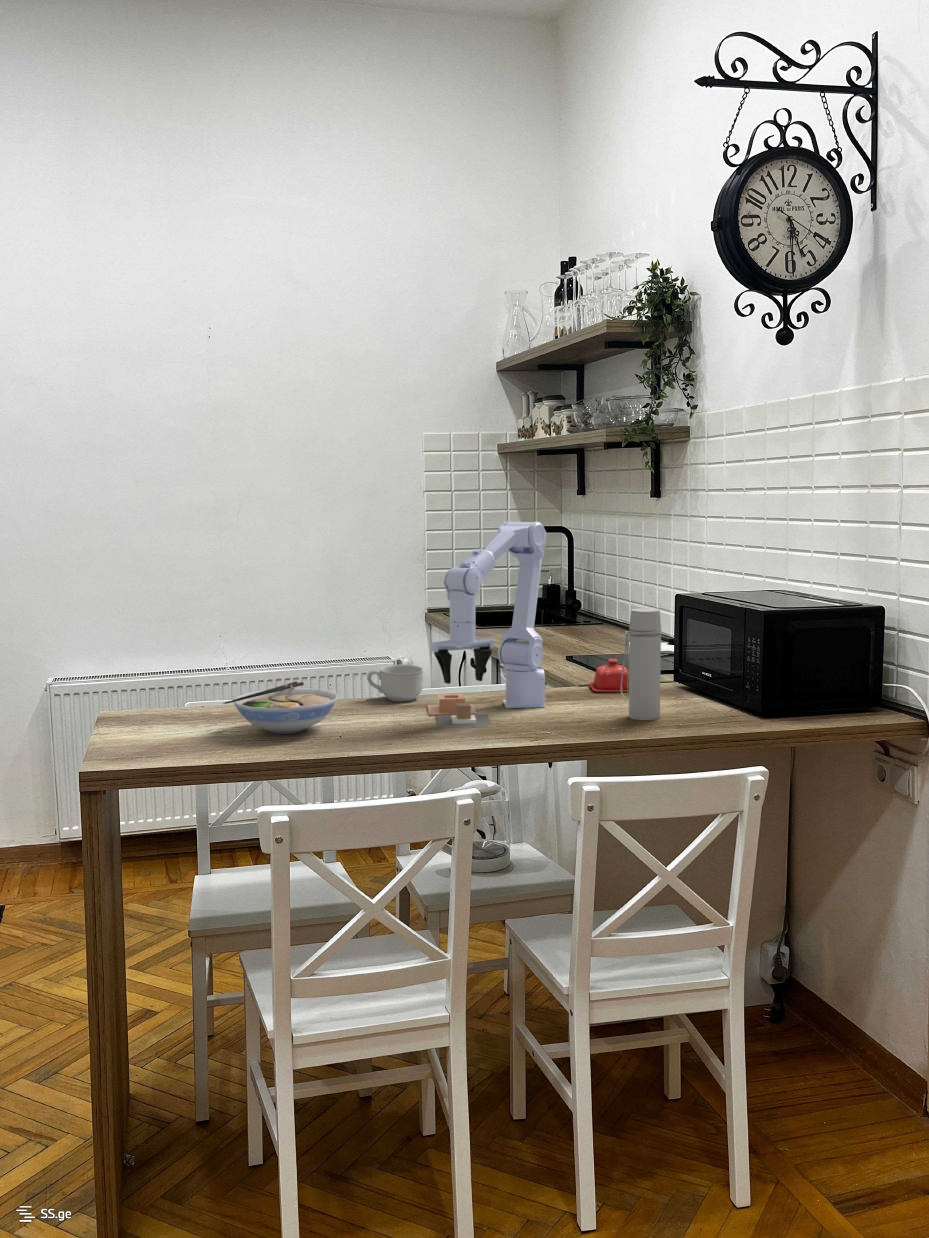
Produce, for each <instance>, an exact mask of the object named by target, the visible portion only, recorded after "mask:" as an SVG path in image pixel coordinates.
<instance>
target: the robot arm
mask: <svg viewBox="0 0 929 1238" xmlns="http://www.w3.org/2000/svg"><path fill="white" fill-rule="evenodd" d="M547 536H548V533H547V531H546V529H545V527H544V525H543V524H542V523H541V522H539V521H533V522H532V521H529V522H528V521H525V522H524V521H504V522H503V523H502V525H500V526H498V530H497V534H496V536H495V537H494V538H493V539H492V540H491V541H490V542H489V543H488V545H487V546H486V547H485V548H475V549H473V550H472V554H471V555H469V556H468V557H467V558H466V559H465V560H463V561H462V562H460V563H461V564H459V565H458V567H457V566H456V567H451V568H450V569H448V570H447V572H446V574H445V576H444V580H443V586H444V590H445V591H446V598H447V600H448V601H449V639H447V640H441V641H435V642H434V641H433V642H430V651H431V652H432V653H433V655H434V656H435V658H436V661H437V663H438V665H439V667H440V670H441V673H442V677H443V683H445V684H447V685H448V684H449V685H450V684H451V681H452V680H451V679H452V678H451V677H452V675H451V672H452V671H451V669H452V668H451V666H452V658H453V655H452V654H451V653H450V652H451V651H461V650H473V656H474V663H475V665H474V666H475V669H474V671H475V673H474V674H475V681H478V682H482V681H483V677H484V674H485V669H486V666H487V663H488V661H489V659H490V658H491V656H492V654H493V650H492V649H495V639H494V638H476V635H477V634H476V628H477V627H476V593H479V590H480V588H481V586H482V585H481V584H482V582H483V581H484V579H485V577H486V576H488V574H490V572H492V571H493V569H495V567H496V560H498V559H499V558H501V556H503V555H504V554H505V553H506V552H508V553H509V554H510V555H511V556H512V557H514V558H516V560H517V561H518V563H519V564H518V565H519V566H518V574H517V582H516V589H515V590H516V591H515V597H514V598H515V600H514V604H513V605H514V607H513V615H512V622H511V623H512V624H511V627H510V628H509V629H508V630H506V631H505V632H504V633H503V634H502V635H501V636H502V637H501V642H500V644H499V646H498V650H497V658H498V660H499V663H500V664H501V665H502V668H503V669H505V699H503V700H502V703H503V705H504V707H505V708H506V709H524V708H528V709H529V708H546V674H545V670H544V668H539V667H540V666H541V665H542V663H543V660H544V650H543V640H544V639H543V638H542V636H541V635H540V634H539V633H538V632H537V631H535V629H534V628H535V621H536V613H537V604H538V597H539V589H540V588H539V587H540V578H541V572H542V571H541V570H542V564H543V563H542V562H543V558H545V552H546V545H547ZM518 640H519V641H518ZM520 640H521V641H520ZM449 651H450V652H449Z"/></svg>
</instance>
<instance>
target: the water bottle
mask: <svg viewBox="0 0 929 1238" xmlns="http://www.w3.org/2000/svg"><path fill="white" fill-rule="evenodd" d="M660 611H661V610H660V609H657V608H650V607H649V608H645V607H641V608H632V609H631V610H630V617H629V626H628V627H629V628H628V629H629V630H625V631H624V634H625V645H624V652H623V653H624V654H623V660H622V661H623V662H622V666H623V669H622V677H621V685H620V687H621V692H620V695H621V698H627V697H628V718H629V719H632V720H639V721H651V720H653V721H655V720H658V719H660V718H661V671H662V669H661V668H662V667H661V666H662V662H661V661H662V659H661V658H662V656H661V653H662V651H661V649H662V634H660V633H662V631H663V630H662V623H661V612H660ZM628 639H629V640H628ZM625 661H626V668H627V692H626V695H624V692H622V681H623V672H624V667H625Z"/></svg>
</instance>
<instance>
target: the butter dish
mask: <svg viewBox="0 0 929 1238" xmlns="http://www.w3.org/2000/svg"><path fill="white" fill-rule="evenodd" d="M607 660H608V664H604V665H601V666H598V667H597V668H596V670H595V674H594V678H593V681H591V682H589V683H588V684H589V686H590V688H591V689H592V691H594V692H595V693H621V687H620V685H621V677H622V669H623V665H620V664H618V662H619V661H618V659H617V658H609V659H607ZM622 692H623V693H627V666H624V672H623V681H622Z"/></svg>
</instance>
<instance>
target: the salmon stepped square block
mask: <svg viewBox="0 0 929 1238" xmlns="http://www.w3.org/2000/svg"><path fill="white" fill-rule="evenodd" d="M456 703H466V699H465V696H464V693H452V694H451V693H447V694H446V693H445V694H444V693H443V694H437V704H427V705H426V707H427V711H428V716H429V717H436V716H452V715H457V707H456ZM470 705H471V715H478V714H477V711H476V708H475V706H474V704H473V703H470Z"/></svg>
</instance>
